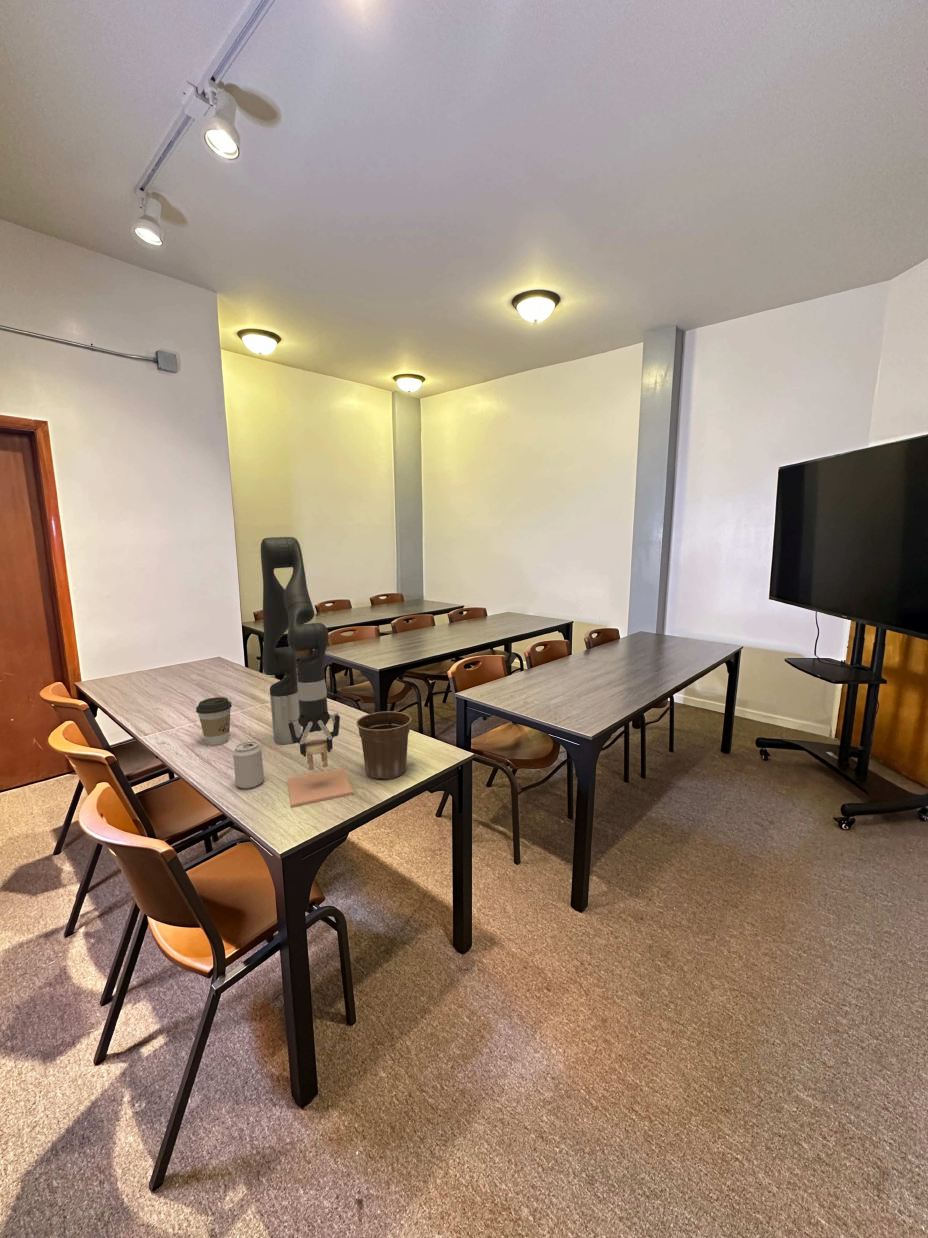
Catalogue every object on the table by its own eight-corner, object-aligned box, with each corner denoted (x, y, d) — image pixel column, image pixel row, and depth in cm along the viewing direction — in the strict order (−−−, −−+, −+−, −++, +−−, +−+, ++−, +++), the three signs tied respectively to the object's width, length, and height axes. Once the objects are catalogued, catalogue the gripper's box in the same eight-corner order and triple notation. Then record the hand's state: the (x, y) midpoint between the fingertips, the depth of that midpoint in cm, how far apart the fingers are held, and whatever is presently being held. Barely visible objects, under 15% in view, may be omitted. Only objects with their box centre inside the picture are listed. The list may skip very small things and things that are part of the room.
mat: (287, 781, 142) (287, 778, 142) (343, 770, 148) (343, 767, 148) (291, 807, 127) (291, 805, 127) (352, 794, 133) (352, 791, 133)
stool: (305, 762, 138) (303, 741, 137) (327, 758, 140) (325, 737, 139) (307, 771, 132) (305, 749, 132) (330, 767, 135) (328, 745, 134)
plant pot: (388, 754, 158) (386, 707, 156) (424, 768, 148) (422, 717, 146) (348, 773, 146) (345, 722, 143) (384, 789, 136) (381, 734, 133)
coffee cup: (220, 749, 165) (216, 707, 163) (191, 747, 168) (187, 705, 165) (242, 736, 176) (238, 696, 174) (214, 734, 179) (210, 695, 176)
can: (268, 777, 144) (264, 739, 143) (258, 790, 137) (254, 749, 135) (242, 778, 144) (239, 739, 142) (231, 790, 137) (227, 750, 135)
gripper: (337, 688, 140) (340, 744, 142) (284, 695, 134) (288, 753, 137) (341, 695, 133) (345, 753, 135) (285, 703, 127) (290, 763, 130)
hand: (316, 753), depth 136 cm, fingers closed on stool, 6 cm apart
